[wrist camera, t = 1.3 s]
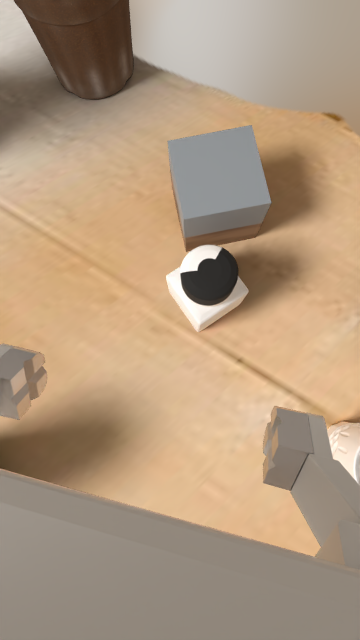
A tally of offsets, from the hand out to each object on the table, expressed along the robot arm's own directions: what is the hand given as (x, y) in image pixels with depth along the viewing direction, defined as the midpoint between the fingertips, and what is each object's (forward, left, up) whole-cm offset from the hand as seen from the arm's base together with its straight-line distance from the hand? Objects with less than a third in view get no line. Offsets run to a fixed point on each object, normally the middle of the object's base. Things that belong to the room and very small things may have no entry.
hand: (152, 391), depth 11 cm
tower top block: (-22, +10, -28) cm, 37 cm away
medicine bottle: (-10, +6, -33) cm, 35 cm away
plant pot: (-50, -2, -33) cm, 60 cm away
